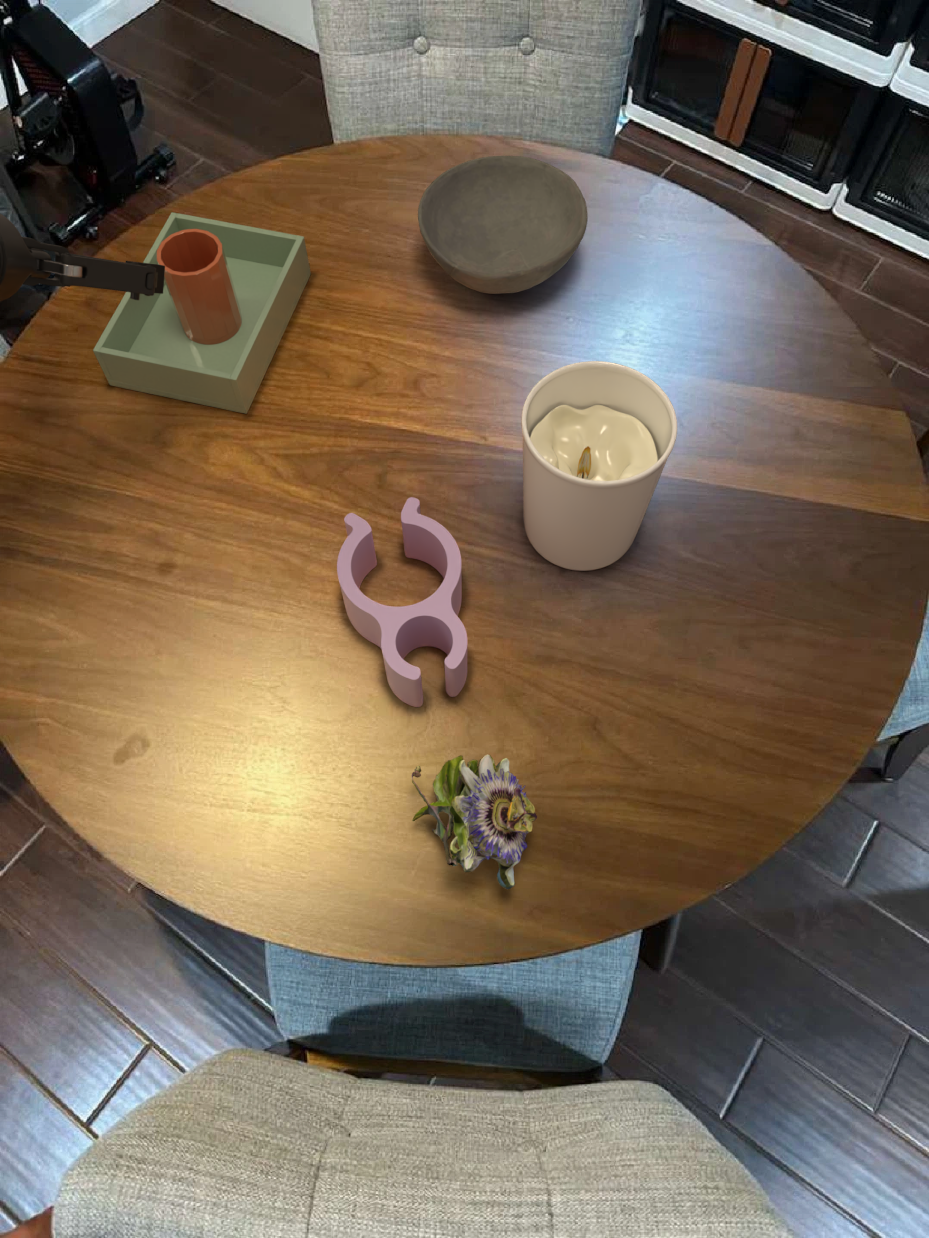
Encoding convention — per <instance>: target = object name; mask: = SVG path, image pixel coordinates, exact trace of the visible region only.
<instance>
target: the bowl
mask: <svg viewBox="0 0 929 1238" xmlns="http://www.w3.org/2000/svg"><path fill="white" fill-rule="evenodd" d="M588 216H589V214H588V207H587V202H586V200H585V197H584V195H583V193H582V191H581V189H580V187H579V185H577V183H576V181H575V180H574V179H573V178H572V177H571V176H570V175H568V174H567V173H566V172H565V171H563V170H561V169H560V168H558V167H556V166H554V165H553V164H549V163H548V162H545V161H542V160H539V159H536V158H532V157H528V156H521V155H490V156H484V157H479V158H475V159H474V158H473V159H471V160H467V161H465V162H461V163H459V164H457V165H453V166H452V167H450V168H449V169H447V170H445V171H443V172H442V173H441V174H440V175H438V176H437V177H436V178H435V179H434V180H433V181H432V182H431V183H430V184H429V185H428V186H427V188H426V189H425V190H424V192H423V194H422V196H421V198H420V200H419V203H418V209H417V221H418V227H419V231H420V234H421V237H422V239H423V242H424V243H425V246H426V247H427V250H428V252H429V253H430V254H431V256H432V258H434V260H435V261H436V262H437V264H439V266H440V268H442V269H443V271H445V273H446V274H448V276H449V277H450V278H451V279H453V280H454V281H455V282H457V283H458V284H461V285H462V286H464V287H466V288H469V289H470V290H473V291H476V292H479V293H484V294H491V295H496V294H499V295H500V294H515V293H519V292H522V291H526V290H529V289H531V288H533V287H536V286H538V285H540V284H541V283H543V282H545V281H547V280H548V279H550V278H551V277H553V276H554V275H555V274H556V273H558V272H559V271H560V270H561V269H562V268H563V267H564V266H565V265H566V264H567V263H568V262H569V260H570V259H571V258H572V257H573V255H574V254H575V252H576V251H577V249H579V248H578V247H579V246H580V244H581V242H582V240H583V239H584V236H585V233H586V230H587V226H588Z"/></svg>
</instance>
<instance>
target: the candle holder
mask: <svg viewBox="0 0 929 1238" xmlns="http://www.w3.org/2000/svg"><path fill="white" fill-rule="evenodd" d="M521 410H522V411H521V417H520V419H521V420H520V426H521V427H520V428H521V432H522V509H523V526H524V530H525V533H526V536H527V540H528V541H529V544H530V545H531V546H532V547H533V549H534V550H535V551H536V552H537V553H538V554H539V555H540V556H541V557H542V558H544V559H545V560H546V561H548V562H550V563H551V564H553V565H555V566H557V567H559V568H563V569H565V570H570V571H571V570H572V571H577V572H583V571H584V572H585V571H586V572H587V571H595V570H599V569H602V568H605V567H608V566H610V565H612V564H614V563H615V562H617V561H618V560H620V559H621V558H622V557H623V556H624V555H625V554H626V553H628V551H629V550H630V548H631V547H632V544H633V543H634V541H635V539H636V536H637V535H638V532H639V530H640V528H641V525H642V523H643V520H644V518H645V516H646V513H647V511H648V507H649V506H650V504H651V501H652V498H653V495H654V493H655V491H656V488H657V486H658V483H659V481H660V478H661V476H662V473H663V471H664V468H665V466H666V463H667V461H668V458H669V457H670V455H671V454H672V451H673V449H674V447H675V444H676V442H677V436H678V420H677V419H678V418H677V414H676V411H675V408H674V405H673V404H672V402H671V400H670V398H669V396H668V395H667V394H666V392H665V391H664V390H663V388H661V386H660V385H658V383H656V382H655V381H654V380H653V379H652V378H650V377H649V376H647V375H646V374H644V373H642V372H641V371H638V370H637V369H635V368H632V367H629V366H628V365H627V366H626V365H624V364H621V363H616V362H610V361H601V360H588V361H586V360H585V361H579V362H575V363H570V364H567V365H564V366H561V367H559V368H557V369H555V370H553V371H551V372H550V373H548V374H546V375H545V376H543V377H542V378H540V380H539V381H538V382H536V383H535V385H534V386H533V387H532V388H531V389H530V391H529V393H528V395H527V396H526V398H525V400H524V403H523V406H522V409H521Z"/></svg>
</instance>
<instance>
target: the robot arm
mask: <svg viewBox="0 0 929 1238" xmlns="http://www.w3.org/2000/svg"><path fill="white" fill-rule="evenodd" d="M47 251H49V252H54V254H55V258H54V259H55V260H52V256H51V255H50V253H48V252H47ZM52 274H54V277H53V278H49V277H51V275H52ZM164 274H165V266H164V265H158V264H150V263H143V261H142V262H141V261H133V260H125V262H124V261H118V260H112V259H106V258H101V257H94V256H87V255H81V254H75V253H70V251H69V249H68V248H66V247H65V246H61V245H57V244H50V243H45V242H42V241H38V240H37V239H35V238H32V237H26V236H22V234H21V233H20V230H18V228H17V227H16V226H15V224H14V223H13V222H12V221H11V220H10V219H9V218H7V216H5V215H3V214H2V213H0V302H4V301H5V300H8V299H10V298H11V297H12V296H14V295H16V293H18V291H19V290H20V289H21V287H22V286H23V285H24V286H31V287H32V286H33V287H34V286H36V285H45V286H53V287H60V288H64V287H68V288H70V287H84V288H92V289H101V290H109V291H115V292H124V293H126V292H131V294H130V298H131V299H134V300H139V298H140V294H145V295H146V296H150V295H151V296H153V295H154V293H161V294H163V288H164Z"/></svg>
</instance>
